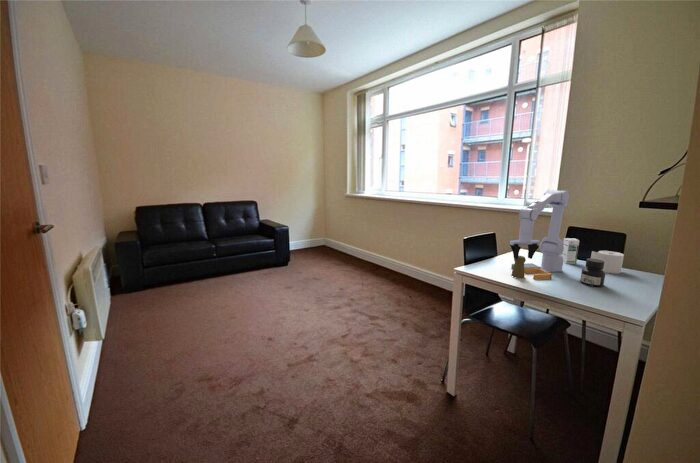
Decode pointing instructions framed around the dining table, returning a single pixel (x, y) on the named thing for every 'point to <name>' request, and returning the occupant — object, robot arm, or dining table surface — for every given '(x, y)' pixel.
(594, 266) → the ink bottle
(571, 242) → the syrup box
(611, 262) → the toilet tissue
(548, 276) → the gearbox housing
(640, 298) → the dining table surface
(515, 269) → the cork
